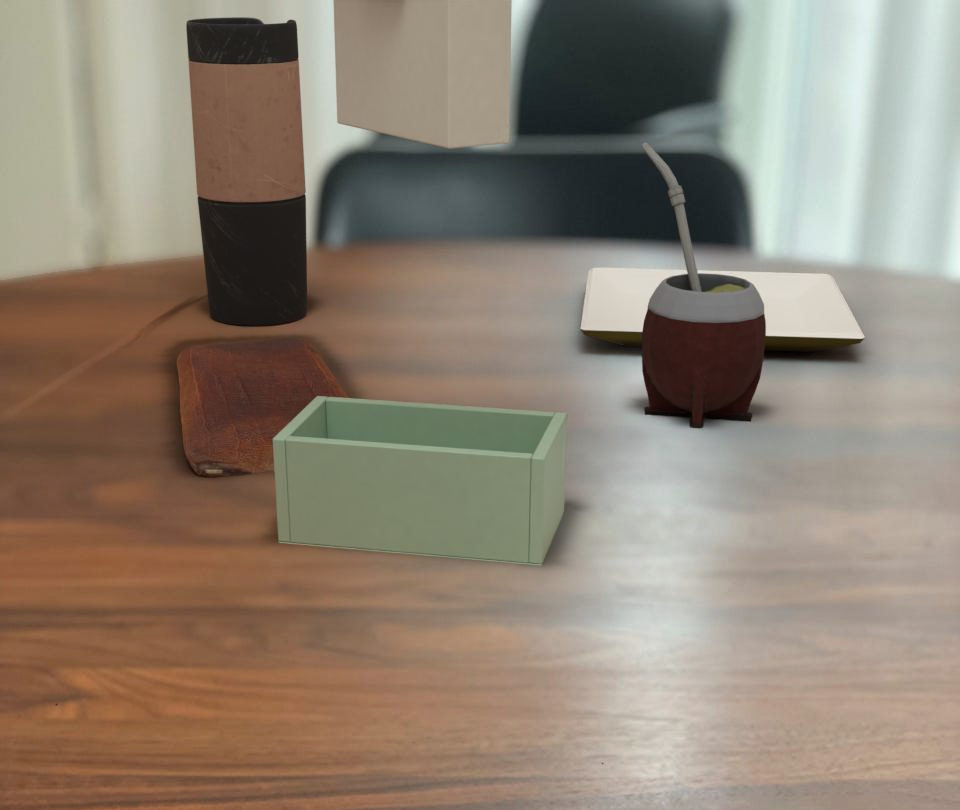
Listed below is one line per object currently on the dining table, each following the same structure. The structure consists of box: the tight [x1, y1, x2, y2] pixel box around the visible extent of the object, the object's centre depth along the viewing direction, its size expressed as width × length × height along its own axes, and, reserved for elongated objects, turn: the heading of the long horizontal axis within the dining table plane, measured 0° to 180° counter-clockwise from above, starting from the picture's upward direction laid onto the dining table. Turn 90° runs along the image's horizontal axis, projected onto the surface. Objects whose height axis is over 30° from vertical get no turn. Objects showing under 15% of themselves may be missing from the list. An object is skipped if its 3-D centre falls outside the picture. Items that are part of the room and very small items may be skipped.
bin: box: [273, 396, 568, 566], centre depth 70 cm, size 12×7×6 cm, turn 78°
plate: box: [580, 267, 866, 353], centre depth 107 cm, size 19×19×2 cm
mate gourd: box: [641, 141, 766, 429], centre depth 85 cm, size 8×8×15 cm
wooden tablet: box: [176, 337, 349, 478], centre depth 89 cm, size 27×10×2 cm, turn 12°
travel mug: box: [185, 16, 308, 327], centre depth 106 cm, size 8×8×20 cm
